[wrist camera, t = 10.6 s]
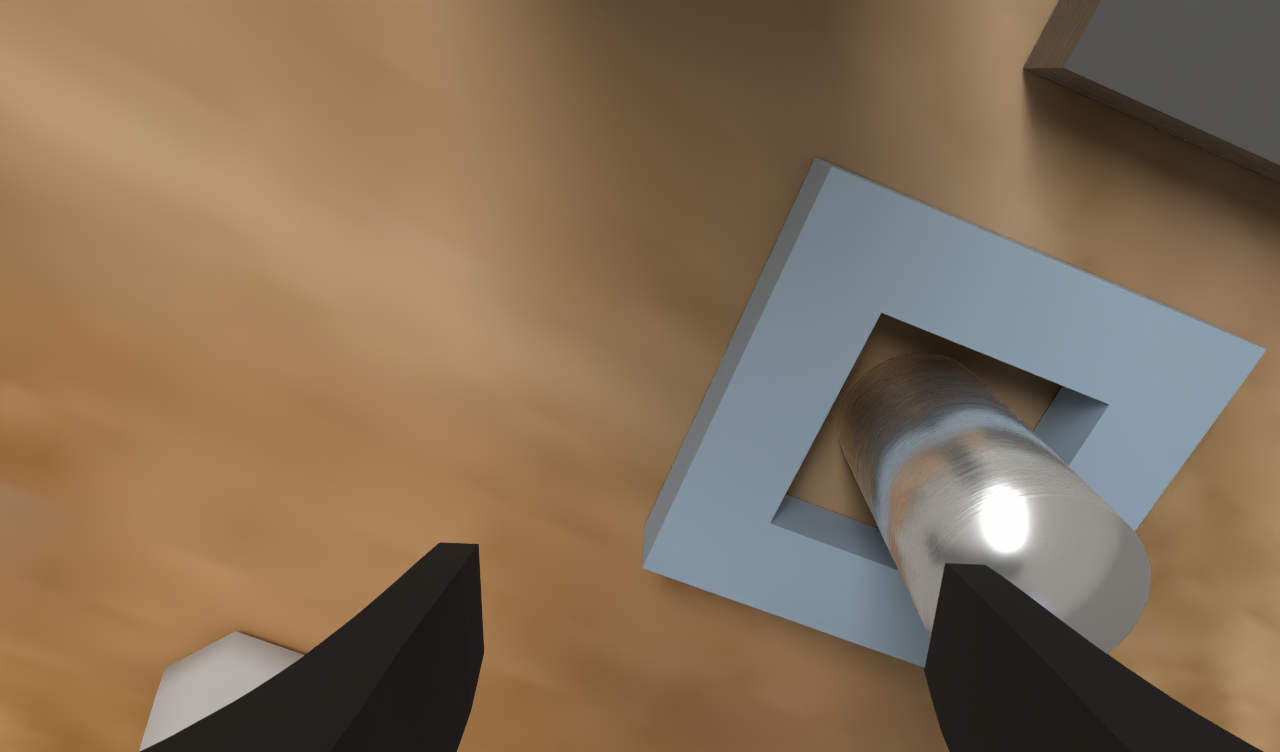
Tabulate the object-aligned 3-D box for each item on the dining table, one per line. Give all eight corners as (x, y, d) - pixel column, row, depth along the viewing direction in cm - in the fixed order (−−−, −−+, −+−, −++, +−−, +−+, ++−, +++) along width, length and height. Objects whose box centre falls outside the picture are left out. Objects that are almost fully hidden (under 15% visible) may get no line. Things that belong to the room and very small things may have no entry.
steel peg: (1021, 395, 21) (1199, 557, 14) (932, 512, 22) (1055, 713, 15) (892, 327, 20) (1012, 459, 13) (809, 450, 22) (879, 631, 15)
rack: (1210, 323, 20) (1266, 349, 18) (985, 650, 24) (1012, 699, 22) (815, 157, 19) (831, 166, 17) (644, 527, 23) (642, 568, 21)
